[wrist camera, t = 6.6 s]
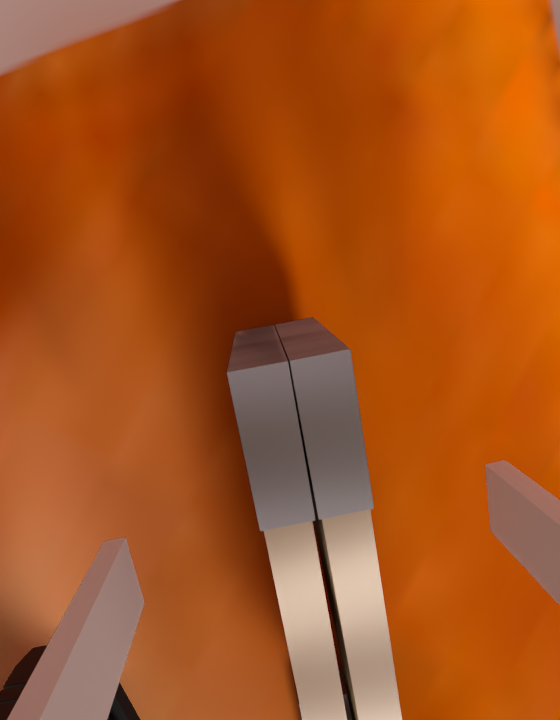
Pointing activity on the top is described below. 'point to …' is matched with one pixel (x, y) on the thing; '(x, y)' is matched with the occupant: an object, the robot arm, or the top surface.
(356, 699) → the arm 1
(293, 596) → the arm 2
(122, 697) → the chess piece
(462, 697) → the top surface
